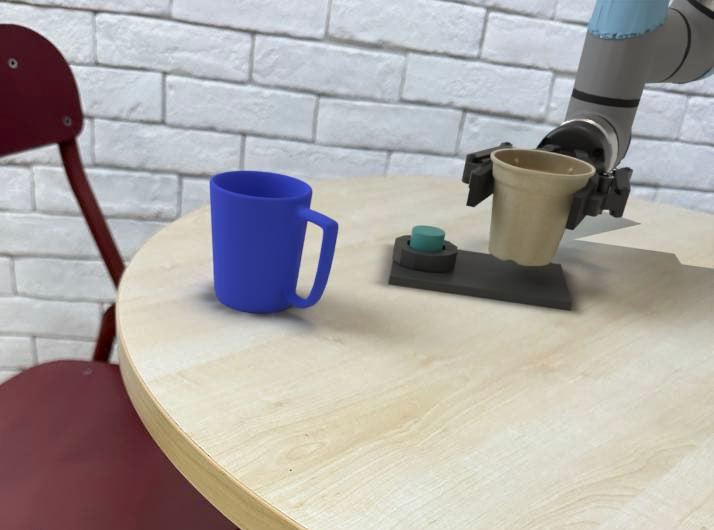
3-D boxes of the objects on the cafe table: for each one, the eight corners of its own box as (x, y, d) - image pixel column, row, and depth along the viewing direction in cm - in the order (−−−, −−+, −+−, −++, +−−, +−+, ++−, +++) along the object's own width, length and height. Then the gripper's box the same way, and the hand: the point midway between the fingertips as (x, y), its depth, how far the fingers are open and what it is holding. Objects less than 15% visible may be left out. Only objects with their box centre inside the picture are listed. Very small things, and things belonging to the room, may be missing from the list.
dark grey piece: (557, 277, 87) (565, 248, 86) (568, 316, 78) (578, 285, 77) (393, 253, 88) (398, 224, 86) (386, 290, 79) (391, 258, 78)
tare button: (442, 246, 83) (445, 227, 82) (441, 256, 81) (445, 237, 80) (410, 241, 83) (413, 223, 82) (408, 251, 81) (411, 232, 80)
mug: (287, 348, 67) (299, 218, 61) (186, 299, 73) (187, 177, 67) (354, 325, 72) (370, 203, 66) (254, 281, 78) (261, 165, 72)
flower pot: (450, 247, 81) (469, 151, 76) (510, 235, 87) (532, 144, 81) (528, 280, 76) (554, 179, 71) (587, 264, 81) (616, 169, 76)
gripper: (662, 216, 90) (629, 273, 73) (473, 174, 97) (403, 218, 80) (688, 140, 86) (660, 182, 69) (488, 101, 92) (417, 132, 75)
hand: (522, 202), depth 74 cm, fingers closed on flower pot, 8 cm apart
